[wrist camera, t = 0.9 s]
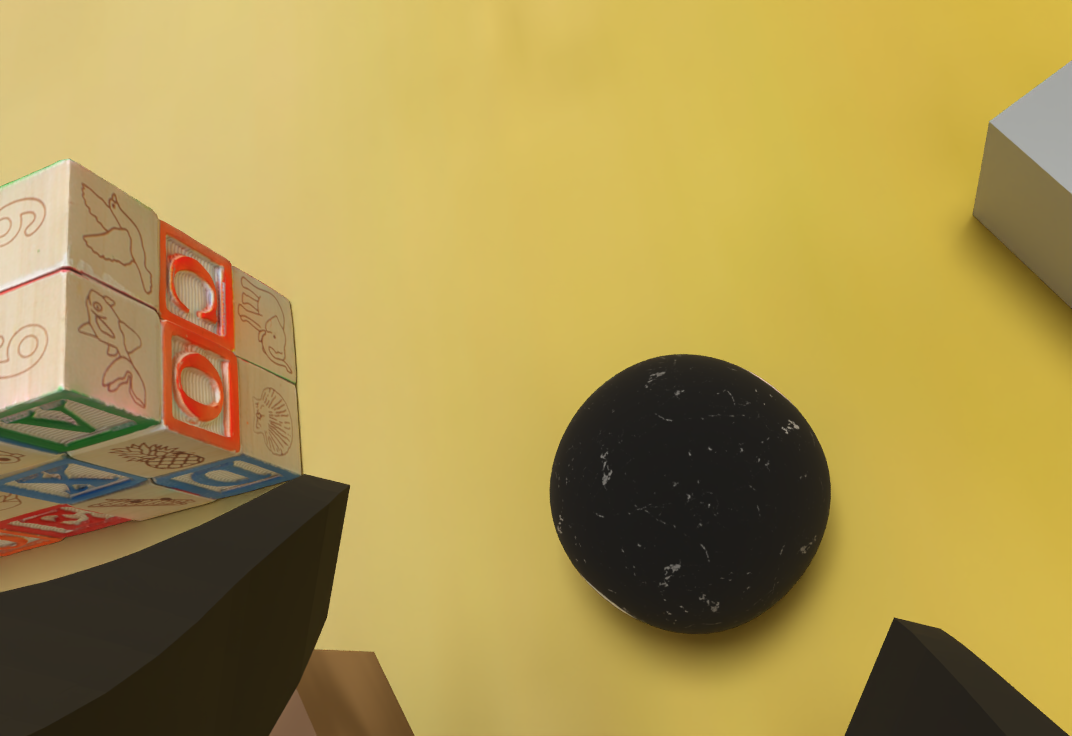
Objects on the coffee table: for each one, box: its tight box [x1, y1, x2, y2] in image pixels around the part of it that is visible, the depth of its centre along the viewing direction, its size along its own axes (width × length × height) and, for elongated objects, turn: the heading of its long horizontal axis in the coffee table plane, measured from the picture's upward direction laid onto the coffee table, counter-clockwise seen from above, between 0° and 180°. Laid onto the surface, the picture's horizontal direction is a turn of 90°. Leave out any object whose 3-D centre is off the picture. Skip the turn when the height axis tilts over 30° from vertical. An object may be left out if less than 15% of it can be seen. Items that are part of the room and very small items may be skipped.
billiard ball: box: [550, 354, 831, 634], centre depth 21 cm, size 6×6×6 cm
